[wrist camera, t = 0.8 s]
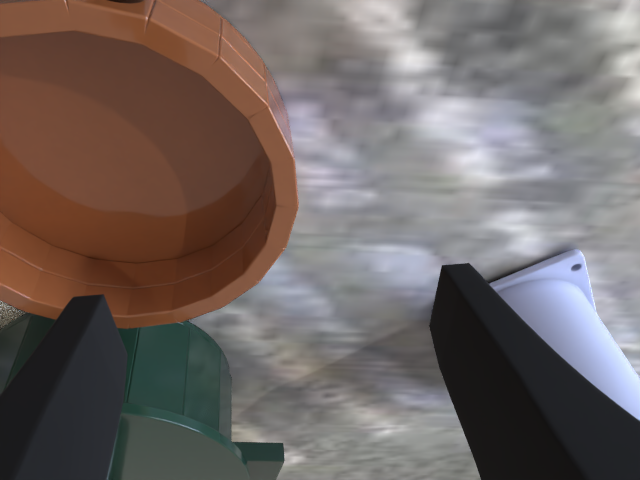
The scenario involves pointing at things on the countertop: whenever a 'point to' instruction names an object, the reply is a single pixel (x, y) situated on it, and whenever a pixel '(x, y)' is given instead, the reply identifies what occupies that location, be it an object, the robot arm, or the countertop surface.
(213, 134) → the pan
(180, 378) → the pot
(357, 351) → the countertop surface
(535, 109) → the countertop surface
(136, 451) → the lid
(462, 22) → the countertop surface
